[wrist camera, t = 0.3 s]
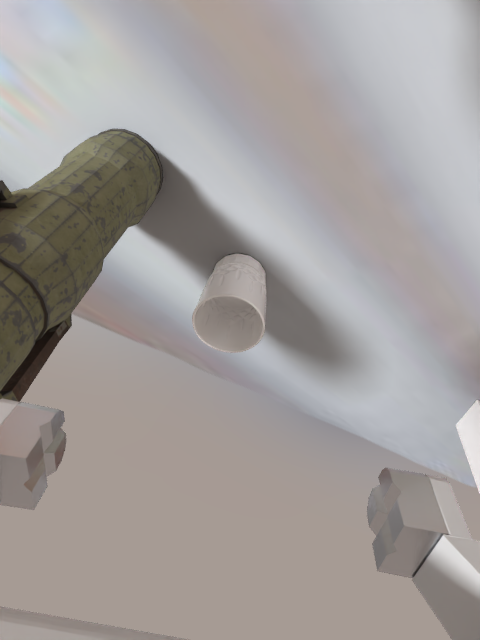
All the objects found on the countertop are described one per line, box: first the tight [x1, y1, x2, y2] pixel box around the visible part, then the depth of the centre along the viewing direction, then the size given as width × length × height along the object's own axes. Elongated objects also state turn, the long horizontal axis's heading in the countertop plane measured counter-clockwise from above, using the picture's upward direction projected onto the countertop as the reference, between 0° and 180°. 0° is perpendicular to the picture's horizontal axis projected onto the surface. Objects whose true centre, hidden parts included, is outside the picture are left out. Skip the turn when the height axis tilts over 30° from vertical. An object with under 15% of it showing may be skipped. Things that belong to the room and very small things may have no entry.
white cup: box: [192, 253, 266, 353], centre depth 50 cm, size 8×8×10 cm
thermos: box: [0, 129, 163, 402], centre depth 34 cm, size 9×12×35 cm
